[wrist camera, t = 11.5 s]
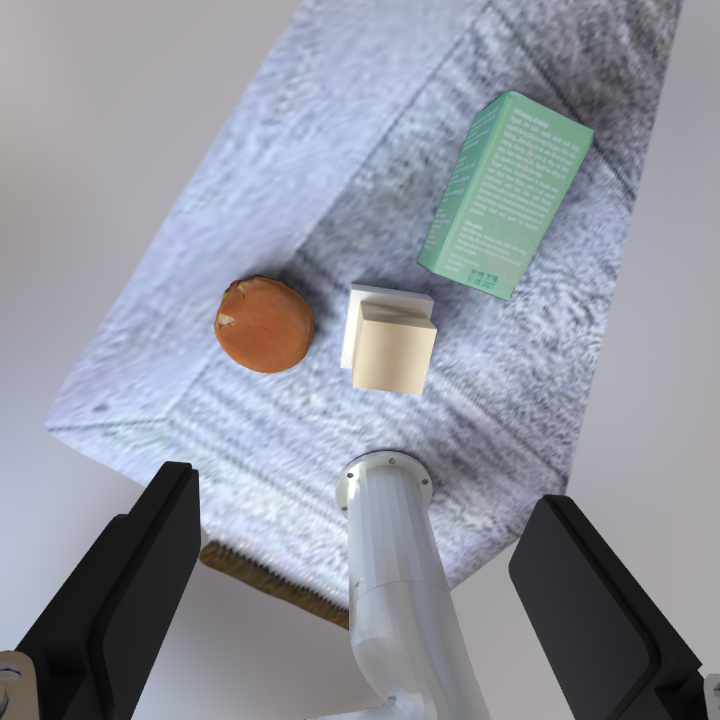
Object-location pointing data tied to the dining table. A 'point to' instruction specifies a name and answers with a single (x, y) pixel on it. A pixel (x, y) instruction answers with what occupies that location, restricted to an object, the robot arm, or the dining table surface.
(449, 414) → the dining table surface
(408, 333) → the maple block
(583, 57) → the dining table surface
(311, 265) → the dining table surface
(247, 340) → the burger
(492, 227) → the box
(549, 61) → the dining table surface
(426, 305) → the white slab
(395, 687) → the robot arm
